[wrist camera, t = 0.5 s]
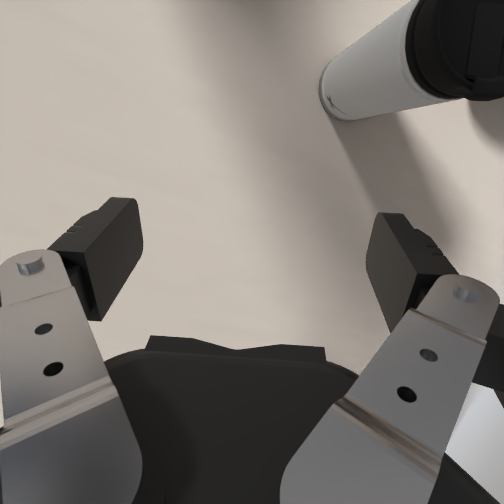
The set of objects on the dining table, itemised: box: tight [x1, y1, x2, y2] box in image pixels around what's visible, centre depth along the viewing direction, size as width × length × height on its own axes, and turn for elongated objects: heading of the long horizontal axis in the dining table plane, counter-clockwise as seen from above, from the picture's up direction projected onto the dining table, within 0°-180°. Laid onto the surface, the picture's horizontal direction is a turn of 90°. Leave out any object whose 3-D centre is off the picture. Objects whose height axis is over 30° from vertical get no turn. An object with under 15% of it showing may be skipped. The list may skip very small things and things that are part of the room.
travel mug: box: [319, 0, 504, 121], centre depth 26 cm, size 6×7×20 cm
